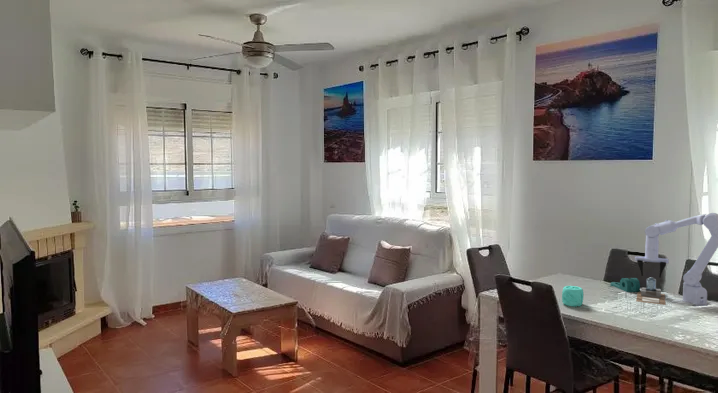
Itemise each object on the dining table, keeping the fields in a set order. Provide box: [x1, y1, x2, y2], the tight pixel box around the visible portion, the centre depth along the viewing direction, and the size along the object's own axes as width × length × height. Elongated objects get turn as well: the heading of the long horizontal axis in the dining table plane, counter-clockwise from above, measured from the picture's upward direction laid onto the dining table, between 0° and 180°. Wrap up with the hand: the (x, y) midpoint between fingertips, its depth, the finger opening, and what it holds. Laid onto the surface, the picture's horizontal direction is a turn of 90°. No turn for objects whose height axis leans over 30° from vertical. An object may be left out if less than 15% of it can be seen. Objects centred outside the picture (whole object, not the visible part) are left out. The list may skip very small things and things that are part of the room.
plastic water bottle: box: [646, 276, 657, 292], centre depth 254 cm, size 4×4×9 cm
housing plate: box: [635, 286, 666, 306], centre depth 249 cm, size 22×12×4 cm, turn 150°
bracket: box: [609, 277, 641, 293], centre depth 269 cm, size 18×7×8 cm, turn 4°
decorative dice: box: [561, 285, 584, 308], centre depth 242 cm, size 8×8×8 cm
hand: (650, 276), depth 254 cm, fingers open, 7 cm apart
